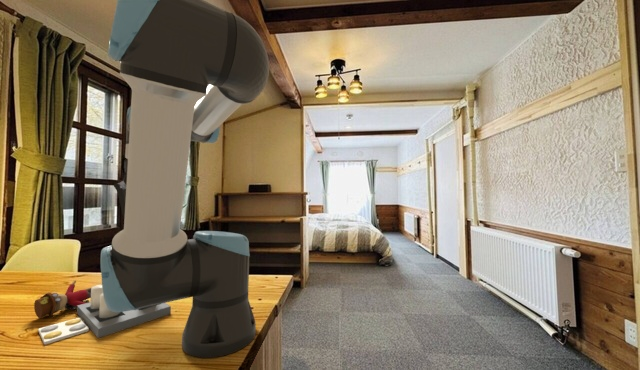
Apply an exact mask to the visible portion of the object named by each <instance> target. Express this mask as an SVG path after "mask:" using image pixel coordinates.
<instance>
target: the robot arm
mask: <svg viewBox="0 0 640 370" xmlns="http://www.w3.org/2000/svg"><path fill="white" fill-rule="evenodd" d="M112 20H113V21H112V26H111V31H110V37H109V44H108V48H107V56H108V57H109V58H110V59H112V60H114V62H120V67H119V75H120V77H122V78H123V80H124V81H125V82H126V83H127V85H128V86H129V87H130V88H131V101H130V102H131V105H130V106H129V107H128V108H127V110H126V111H127V112H126V118H125V119H126V127H125V128H126V135H125V136H126V139H125V152H124V158H126V159H125V161H124V174H125V175H124V177H123V178H122V180H121V181H120V182H118V183H114V184H113V187H114V189H115V190H116V192H117V196H118V200H119V205H120V208H121V209H120V210H121V213H122V217H124V221H123V223H124V224H123V229H122V230H120V231H118V232H117V233H116V234H115V235H114V236H113V238H112V241H111V245H109V246H105V247H103V248H102V249H101V250H100V263H99V264H100V273H101V284H102V288H103V295H104V300H105V304H106V307H107V308H108V309H109V310H110V311H112V312H124V311H130V310H139V309H140V308H144V307H149V306H153V305H157V304H162V303H166V304H167V303H169V302H174V301H175V302H176V301H180V300H184V299H188V298H192V303H191V304H192V306H191V309H190V312H189V315H188V317H187V321H186V323H185V326H184V329H183V330H182V331H183V332H182V334H181V335H182V337H181V338H182V339H181V347H182V350H183V352H184V353H185V354H187V355H189V356H191V357H195V358H202V359H203V358H205V359H206V358H210V359H211V358H218V357H223V356H227V355H231V354H232V353H236V352H238V351H240V350H241V349H243V348H245V347H247V346H248V345H249V344H250V343H252V342H253V340H254V339H255V337H256V331H257V330H256V328H257V327H256V325H257V323H256V319H255V316H254V312H253V309H252V307H251V303H250V301H249V284H250V283H249V280H250V277H249V276H250V275H249V274H250V257H251V256H250V255H251V254H250V246H249V245H250V242H249V239H248V238H247V236H246V235H244V234H241V233H237V232H236V233H235V232H229V231H217V230H198V231H195V232H194V235H193V236H192V238H191V239H190V238H189V239H188V235H187V234H186V232H185V231H184V230H182V229H181V223H182V216H183V215H182V213H183V204H184V199H185V198H184V197H185V188H186V183H187V182H186V180H187V172H188V163H189V157H190V147H191V146H190V145H191V142H198V143H203V144H206V143H207V144H208V143H209V144H214V143H216V142H217V141H218V139H219V136H220V131H221V130H220V129H221V128H220V126H222V124H223V123H224V122H225V121H226V120H227V119H228V118H229V117H231V116H232V115H233V114H234V112H236V111H237V110H238V109H239V108H240V107H241V106H242V105H247V104H250V103H252V102H253V101H255V100H256V98H258V97H259V96H260V95H262V92H263V91H264V89H265V87H266V85H267V84H268V80H269V75H270V61H269V60H270V59H269V56H268V51H267V49H266V47H265V44H264V41H263V40H262V38H261V36H260V35H259V34H258V32H257V31H256V30H255V28H254V27H253V26H252V25H251V24H250V23H249V22H248V21H246V19H244V18H242V17H241V16H240V15H238V14H234V13H233V12H229V11H227V10H224V9H222V8H220V7H218V6H216V5H214V4H212V3H209V2H208V1H206V0H117V2H116V6H115V11H114V15H113V19H112Z"/></svg>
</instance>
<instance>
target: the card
mask: <svg viewBox="0 0 640 370" xmlns="http://www.w3.org/2000/svg"><path fill="white" fill-rule="evenodd" d="M89 330H90V328H89V327H88V326H87V325H86V323H85V322H84V321H83V320H82V319H81V318H80V317H77V318H73V319H69V320H68V319H67V320H66V321H65V320H64V321H62V322H58V323H55V324H51V325H47V326H43V327H40V328H38V333H39V336H40V338H41V340H42V343H43V344H44V346H46V345H49V344H52V343H55V342H59V341H62V340H64V339H65V340H66V339H68V338H71V337H74V336H77V335H80V334H85V333H87V332H89Z"/></svg>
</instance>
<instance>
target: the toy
mask: <svg viewBox="0 0 640 370" xmlns="http://www.w3.org/2000/svg"><path fill="white" fill-rule="evenodd" d="M76 283H77V280H73V282H71V284H69V286H68V287H67V289H66V291H65V294H64V293H57V292H54V293H51V292H47V293H45V294H44V295H43V296H42V297H41V298H38V299H35V301H34V305H33V306H34V312H35V315H36V317H37V318H38V319H41V318H43V317H44V318H45V317H46V316H48V317H54V314H56V313H57V312H60V311H63V310H66V309H67V310H77V305H81V304H85V303H89V302H90V300H89V299H91V288H92V287H90V288H86V289H81V290H76V291H75V287H76V285H75V284H76ZM100 285H102V283H101V284H100Z"/></svg>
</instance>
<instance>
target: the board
mask: <svg viewBox="0 0 640 370" xmlns="http://www.w3.org/2000/svg"><path fill="white" fill-rule="evenodd" d="M90 304H91V301H89V303H85V304H81V305H77V309H76V314H77V315H78V317H79V318H80V319H81V320H82V321H83V322H84V324H85V325H86V326H87V327H88V328H89V330H90V331H91V332H92V333H93V334H94V336H96V337H97V339H100V338H102V337H106V336H108V335H113V334H114V333H117V332H120V331H124V330H127V329H130V328H132V327H133V328H134V327H135V326H139V325H141V324H145V323H147V321H148V322H150V321H153V320H157V319H159V318H162V317H165V316H168V315H171V312H172V309H171V308H172V306H171V305H170V304H168V303H167V302H166V303H162V304H157V305H153V306H149V307H144V308H140V309H139V310H130V311H124V312H120V313H119V314H118V315H115V316H113V317H108V318H100V317H99V310H100V309H91V308H90ZM144 322H145V323H144Z"/></svg>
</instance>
